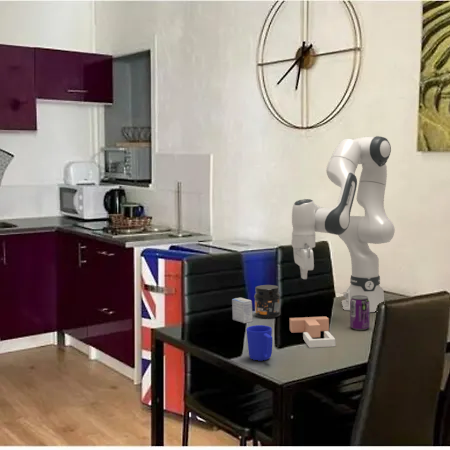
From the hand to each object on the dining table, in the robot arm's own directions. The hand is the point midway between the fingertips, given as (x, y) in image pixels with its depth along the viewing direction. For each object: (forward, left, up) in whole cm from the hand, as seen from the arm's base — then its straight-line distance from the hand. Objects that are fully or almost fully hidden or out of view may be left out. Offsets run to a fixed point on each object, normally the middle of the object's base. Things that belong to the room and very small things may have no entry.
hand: (303, 278), depth 249 cm
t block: (+11, 0, -18) cm, 22 cm away
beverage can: (+8, +19, -19) cm, 28 cm away
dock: (+23, 0, -18) cm, 30 cm away
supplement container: (-18, -12, -19) cm, 28 cm away
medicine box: (-12, -23, -19) cm, 32 cm away
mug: (+40, -22, -19) cm, 49 cm away
